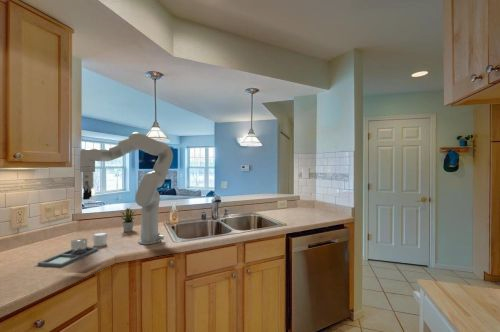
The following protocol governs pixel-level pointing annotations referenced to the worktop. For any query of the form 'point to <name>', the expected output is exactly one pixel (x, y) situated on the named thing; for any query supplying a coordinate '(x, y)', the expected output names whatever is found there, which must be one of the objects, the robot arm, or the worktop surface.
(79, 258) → the divided tray
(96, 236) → the white cylinder
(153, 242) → the robot arm
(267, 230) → the worktop surface
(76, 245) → the block
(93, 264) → the worktop surface
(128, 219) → the house plant
